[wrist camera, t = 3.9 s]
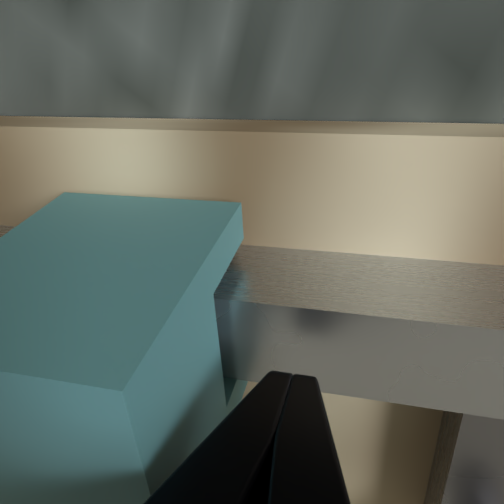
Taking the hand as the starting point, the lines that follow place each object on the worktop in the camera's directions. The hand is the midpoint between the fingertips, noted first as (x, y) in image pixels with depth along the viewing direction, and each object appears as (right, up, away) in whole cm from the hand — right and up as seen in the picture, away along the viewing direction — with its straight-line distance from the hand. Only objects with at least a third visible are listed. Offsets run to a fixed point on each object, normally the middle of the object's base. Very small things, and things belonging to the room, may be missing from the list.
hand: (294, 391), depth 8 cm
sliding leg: (-3, 0, +4) cm, 5 cm away
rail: (-2, +2, +4) cm, 5 cm away
